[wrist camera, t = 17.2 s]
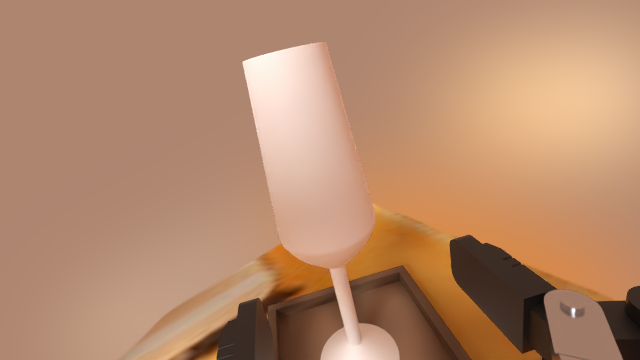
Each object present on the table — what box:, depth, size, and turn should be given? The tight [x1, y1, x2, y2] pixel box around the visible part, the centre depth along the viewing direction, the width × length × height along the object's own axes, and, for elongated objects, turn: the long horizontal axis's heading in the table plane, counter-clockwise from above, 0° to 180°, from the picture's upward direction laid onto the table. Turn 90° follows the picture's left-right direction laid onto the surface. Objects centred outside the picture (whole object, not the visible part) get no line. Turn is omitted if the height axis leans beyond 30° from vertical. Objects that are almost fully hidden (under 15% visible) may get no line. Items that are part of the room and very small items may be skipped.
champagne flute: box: [243, 42, 400, 360], centre depth 21 cm, size 7×7×24 cm
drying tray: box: [268, 265, 471, 360], centre depth 25 cm, size 15×15×2 cm
